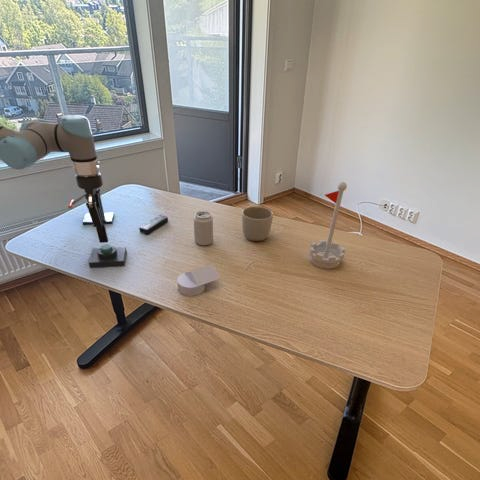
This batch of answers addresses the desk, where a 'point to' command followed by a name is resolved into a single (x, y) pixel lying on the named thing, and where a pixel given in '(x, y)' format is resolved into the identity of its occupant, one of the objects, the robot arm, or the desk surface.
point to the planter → (256, 222)
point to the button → (106, 248)
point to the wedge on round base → (196, 280)
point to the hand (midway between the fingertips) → (103, 241)
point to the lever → (76, 201)
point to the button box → (108, 257)
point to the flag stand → (329, 238)
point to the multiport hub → (153, 224)
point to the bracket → (107, 217)
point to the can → (203, 228)
